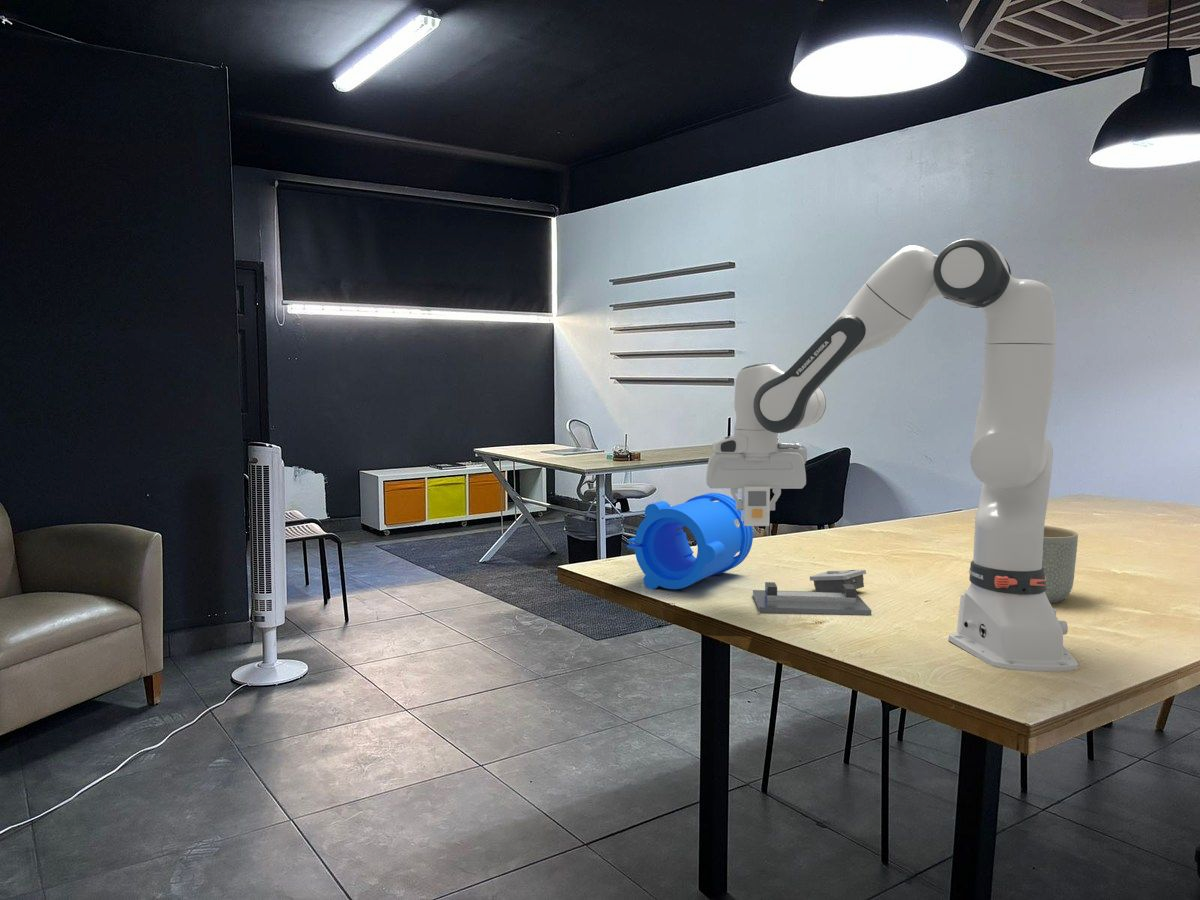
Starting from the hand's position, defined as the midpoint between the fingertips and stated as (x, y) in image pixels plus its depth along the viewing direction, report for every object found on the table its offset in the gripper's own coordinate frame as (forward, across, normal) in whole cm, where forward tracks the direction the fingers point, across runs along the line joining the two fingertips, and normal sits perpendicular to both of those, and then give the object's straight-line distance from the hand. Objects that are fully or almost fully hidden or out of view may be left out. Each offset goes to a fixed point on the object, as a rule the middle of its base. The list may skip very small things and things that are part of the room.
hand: (755, 510), depth 177 cm
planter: (+21, -61, -12) cm, 65 cm away
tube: (+20, +12, -22) cm, 32 cm away
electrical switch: (+20, -23, -16) cm, 35 cm away
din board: (+20, -12, -1) cm, 24 cm away
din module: (+3, 0, 0) cm, 3 cm away
